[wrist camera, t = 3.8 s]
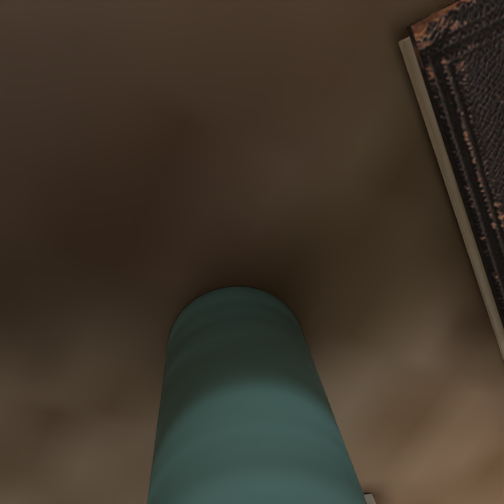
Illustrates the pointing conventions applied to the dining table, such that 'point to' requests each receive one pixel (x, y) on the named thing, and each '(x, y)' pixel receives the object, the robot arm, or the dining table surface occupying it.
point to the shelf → (369, 499)
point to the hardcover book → (467, 127)
